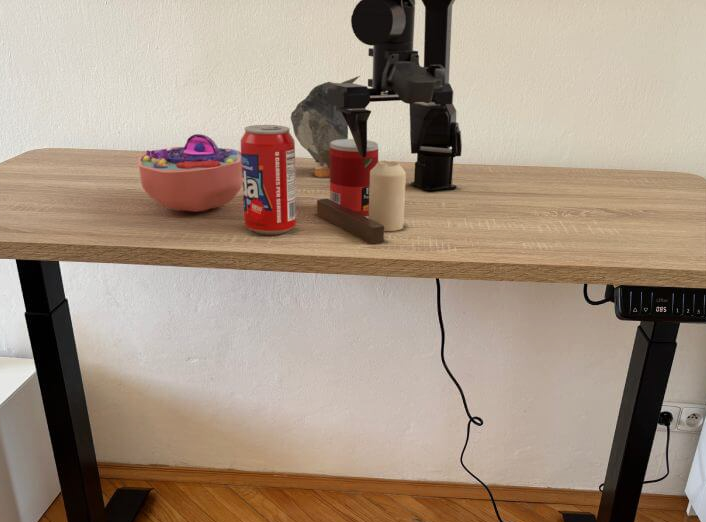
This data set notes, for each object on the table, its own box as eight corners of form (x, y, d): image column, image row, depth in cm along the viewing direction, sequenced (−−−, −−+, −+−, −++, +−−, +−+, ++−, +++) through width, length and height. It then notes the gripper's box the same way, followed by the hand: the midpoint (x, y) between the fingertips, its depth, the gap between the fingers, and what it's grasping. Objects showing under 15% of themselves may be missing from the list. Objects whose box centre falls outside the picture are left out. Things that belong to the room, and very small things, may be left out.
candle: (377, 232, 121) (378, 166, 116) (363, 223, 125) (364, 159, 120) (409, 230, 123) (412, 164, 118) (394, 221, 127) (397, 157, 122)
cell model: (115, 215, 125) (105, 142, 119) (186, 190, 141) (181, 124, 136) (206, 229, 119) (200, 153, 114) (269, 201, 136) (267, 133, 130)
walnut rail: (327, 213, 130) (327, 198, 129) (383, 242, 116) (384, 225, 115) (317, 214, 129) (316, 199, 128) (372, 243, 115) (372, 227, 114)
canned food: (371, 218, 128) (372, 148, 123) (324, 214, 130) (323, 145, 124) (381, 207, 135) (383, 140, 130) (336, 203, 136) (336, 137, 131)
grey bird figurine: (275, 171, 157) (271, 74, 149) (334, 162, 167) (334, 71, 158) (319, 184, 148) (318, 82, 140) (378, 174, 158) (381, 78, 149)
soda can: (301, 235, 118) (299, 131, 111) (248, 238, 116) (243, 132, 109) (291, 221, 125) (288, 123, 117) (241, 224, 122) (236, 123, 115)
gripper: (364, 46, 101) (362, 170, 108) (480, 45, 109) (470, 160, 117) (325, 40, 109) (325, 155, 116) (435, 40, 118) (428, 147, 125)
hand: (389, 155), depth 118 cm, fingers open, 9 cm apart
